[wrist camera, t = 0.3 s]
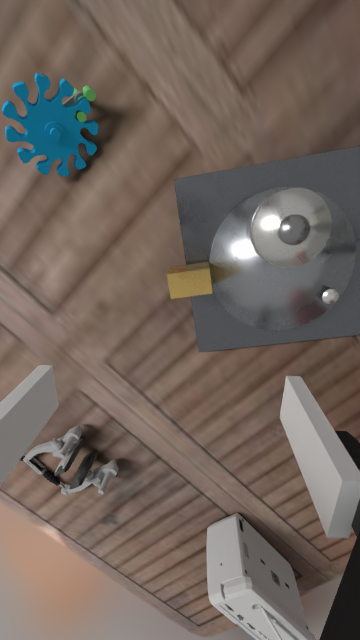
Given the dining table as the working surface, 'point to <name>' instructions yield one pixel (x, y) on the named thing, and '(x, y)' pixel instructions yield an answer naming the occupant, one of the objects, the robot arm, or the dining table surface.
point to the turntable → (269, 273)
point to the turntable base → (226, 194)
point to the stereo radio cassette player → (253, 582)
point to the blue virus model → (53, 124)
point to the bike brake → (68, 451)
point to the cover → (289, 227)
